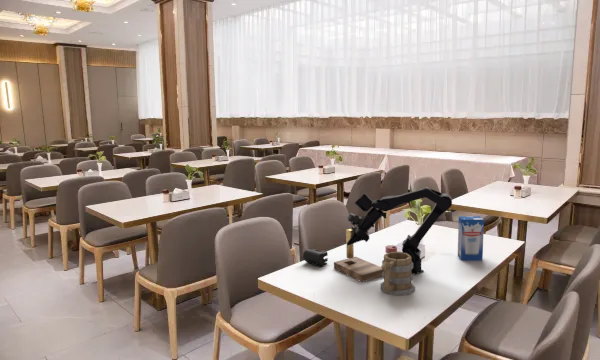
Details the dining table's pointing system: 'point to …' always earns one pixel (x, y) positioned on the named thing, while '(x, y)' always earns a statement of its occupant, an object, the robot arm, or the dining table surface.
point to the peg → (349, 247)
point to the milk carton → (470, 238)
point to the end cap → (315, 257)
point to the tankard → (397, 273)
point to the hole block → (359, 268)
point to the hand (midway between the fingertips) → (346, 243)
